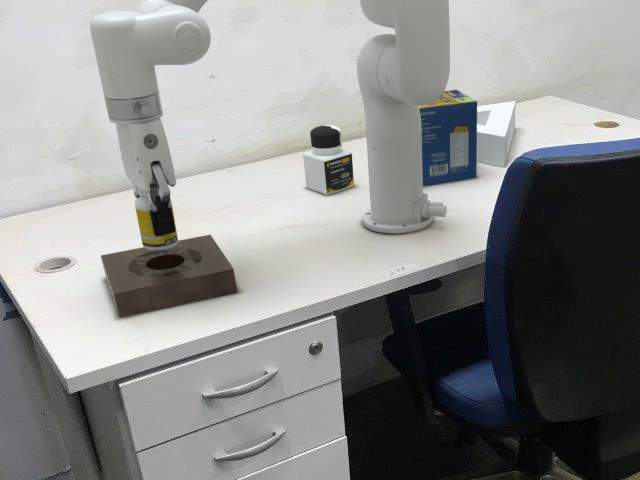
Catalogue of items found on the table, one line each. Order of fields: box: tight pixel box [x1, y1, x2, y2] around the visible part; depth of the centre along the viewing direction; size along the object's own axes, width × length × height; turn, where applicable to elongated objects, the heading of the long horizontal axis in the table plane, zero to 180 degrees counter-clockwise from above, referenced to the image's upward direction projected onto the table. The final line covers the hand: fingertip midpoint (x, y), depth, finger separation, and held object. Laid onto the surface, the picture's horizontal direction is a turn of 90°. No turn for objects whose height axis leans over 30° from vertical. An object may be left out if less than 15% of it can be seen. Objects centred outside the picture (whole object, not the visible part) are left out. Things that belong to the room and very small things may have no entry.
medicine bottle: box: [302, 124, 355, 196], centre depth 167 cm, size 7×7×12 cm
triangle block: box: [477, 100, 517, 168], centre depth 191 cm, size 30×26×6 cm
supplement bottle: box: [134, 184, 179, 251], centre depth 127 cm, size 5×5×10 cm
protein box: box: [419, 89, 478, 187], centre depth 169 cm, size 10×15×16 cm
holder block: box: [100, 234, 238, 318], centre depth 133 cm, size 18×16×4 cm
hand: (157, 227), depth 128 cm, fingers closed on supplement bottle, 5 cm apart
